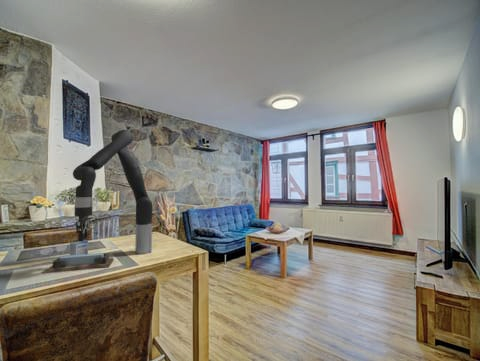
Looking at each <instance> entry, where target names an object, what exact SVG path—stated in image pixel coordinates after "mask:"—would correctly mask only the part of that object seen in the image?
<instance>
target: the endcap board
mask: <svg viewBox="0 0 480 361" xmlns="http://www.w3.org/2000/svg"><path fill="white" fill-rule="evenodd" d="M61 257H62V256H59V257H58V258H56V259H55V260H53V261H52V265H51V266H49V267H48V268H46V270H45V273H46V274H49V273H50V274H51V273H60V272H70V271H81V270H94V268H95V269H102V268H103V269H105V268H110V267H111V265H112V264H113V262H114V257H110V253H109V252H107V253H104V257H100V258H94V264H82V265H71V266H66V260H63V261H59V260H60V258H61Z"/></svg>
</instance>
